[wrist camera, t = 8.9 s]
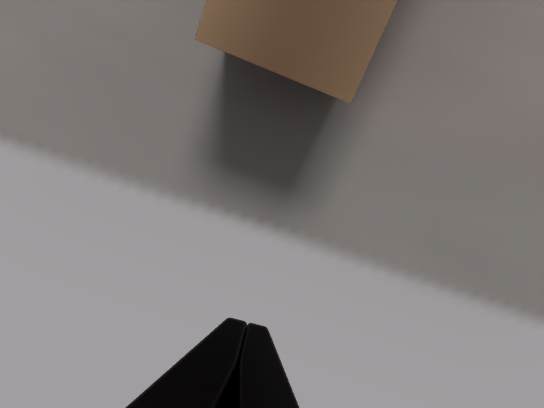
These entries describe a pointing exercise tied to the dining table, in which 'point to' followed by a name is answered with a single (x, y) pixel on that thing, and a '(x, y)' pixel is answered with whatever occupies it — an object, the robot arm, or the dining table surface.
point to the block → (300, 37)
